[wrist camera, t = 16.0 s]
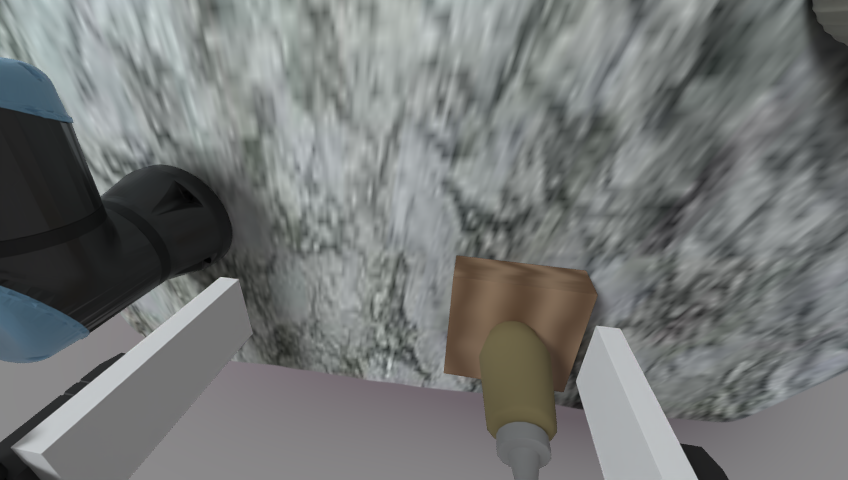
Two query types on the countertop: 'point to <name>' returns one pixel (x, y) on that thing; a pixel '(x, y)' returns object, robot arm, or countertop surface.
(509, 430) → the squeeze bottle
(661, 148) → the countertop surface
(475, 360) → the walnut plinth
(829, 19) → the canister
